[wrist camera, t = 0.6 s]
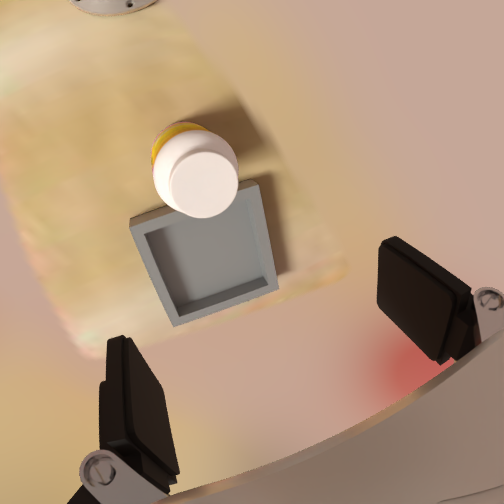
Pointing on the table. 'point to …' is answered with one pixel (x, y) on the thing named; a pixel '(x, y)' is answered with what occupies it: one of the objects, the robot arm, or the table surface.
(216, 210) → the supplement bottle
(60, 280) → the table surface
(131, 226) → the tray
